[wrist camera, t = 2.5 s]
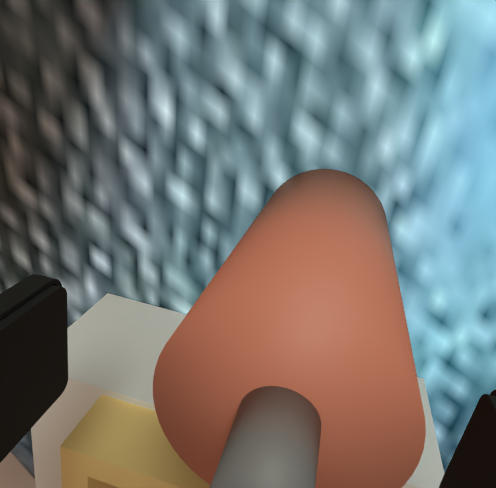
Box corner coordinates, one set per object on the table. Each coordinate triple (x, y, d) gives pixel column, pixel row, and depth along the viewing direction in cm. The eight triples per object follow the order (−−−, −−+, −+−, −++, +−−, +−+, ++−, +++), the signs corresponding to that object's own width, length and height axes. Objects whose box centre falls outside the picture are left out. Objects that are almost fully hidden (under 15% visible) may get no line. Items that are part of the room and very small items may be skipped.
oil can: (402, 183, 16) (512, 448, 5) (368, 296, 19) (386, 677, 7) (274, 157, 17) (97, 329, 6) (254, 269, 19) (96, 564, 8)
